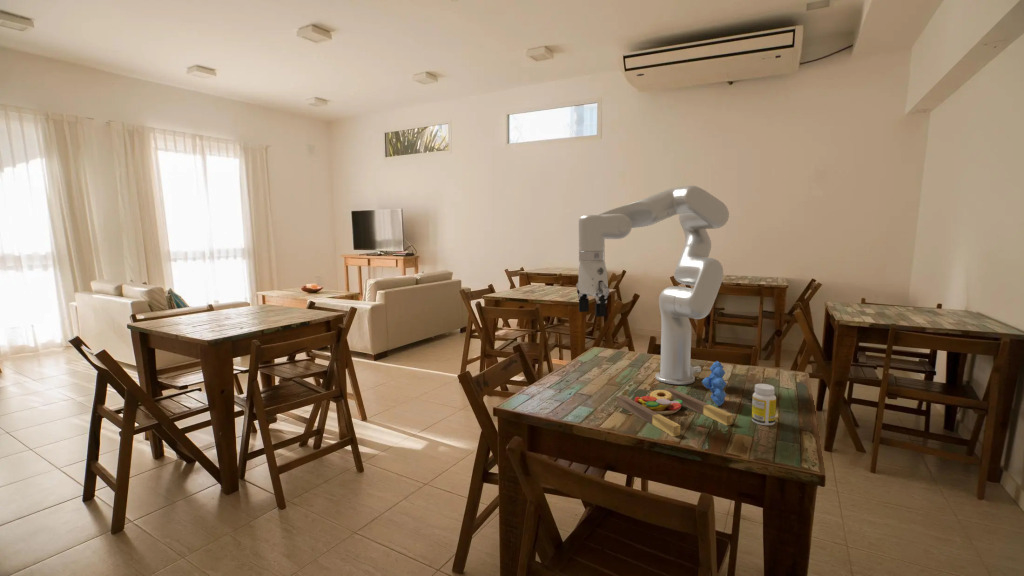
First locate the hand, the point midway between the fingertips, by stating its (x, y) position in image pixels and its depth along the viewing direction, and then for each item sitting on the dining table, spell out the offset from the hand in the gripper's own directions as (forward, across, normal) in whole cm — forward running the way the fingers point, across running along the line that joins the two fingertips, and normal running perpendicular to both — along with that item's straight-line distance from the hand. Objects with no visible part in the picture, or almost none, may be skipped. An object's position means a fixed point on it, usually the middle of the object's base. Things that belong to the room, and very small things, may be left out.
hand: (592, 313), depth 142 cm
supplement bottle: (+26, -35, -30) cm, 53 cm away
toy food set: (+26, -16, -12) cm, 33 cm away
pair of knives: (+26, -21, -12) cm, 35 cm away
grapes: (+26, -19, -29) cm, 43 cm away
